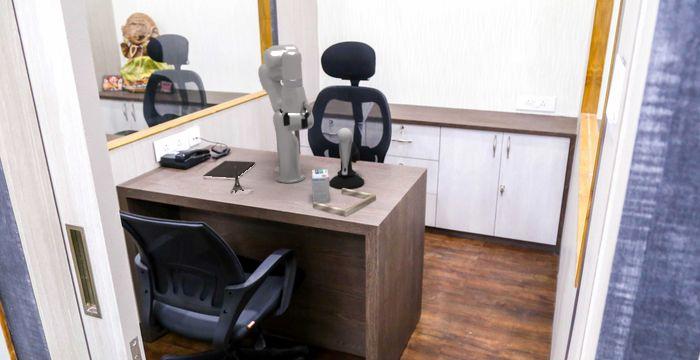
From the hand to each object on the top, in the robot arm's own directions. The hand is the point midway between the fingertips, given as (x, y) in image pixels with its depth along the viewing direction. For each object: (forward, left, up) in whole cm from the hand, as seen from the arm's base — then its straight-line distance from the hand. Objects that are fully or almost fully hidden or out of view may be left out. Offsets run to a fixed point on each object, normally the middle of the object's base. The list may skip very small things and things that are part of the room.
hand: (295, 126), depth 208 cm
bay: (+23, 0, -28) cm, 37 cm away
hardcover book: (-48, +4, -29) cm, 56 cm away
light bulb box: (+11, 0, -29) cm, 31 cm away
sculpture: (+8, +23, -29) cm, 38 cm away
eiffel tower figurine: (-22, -14, -29) cm, 39 cm away
